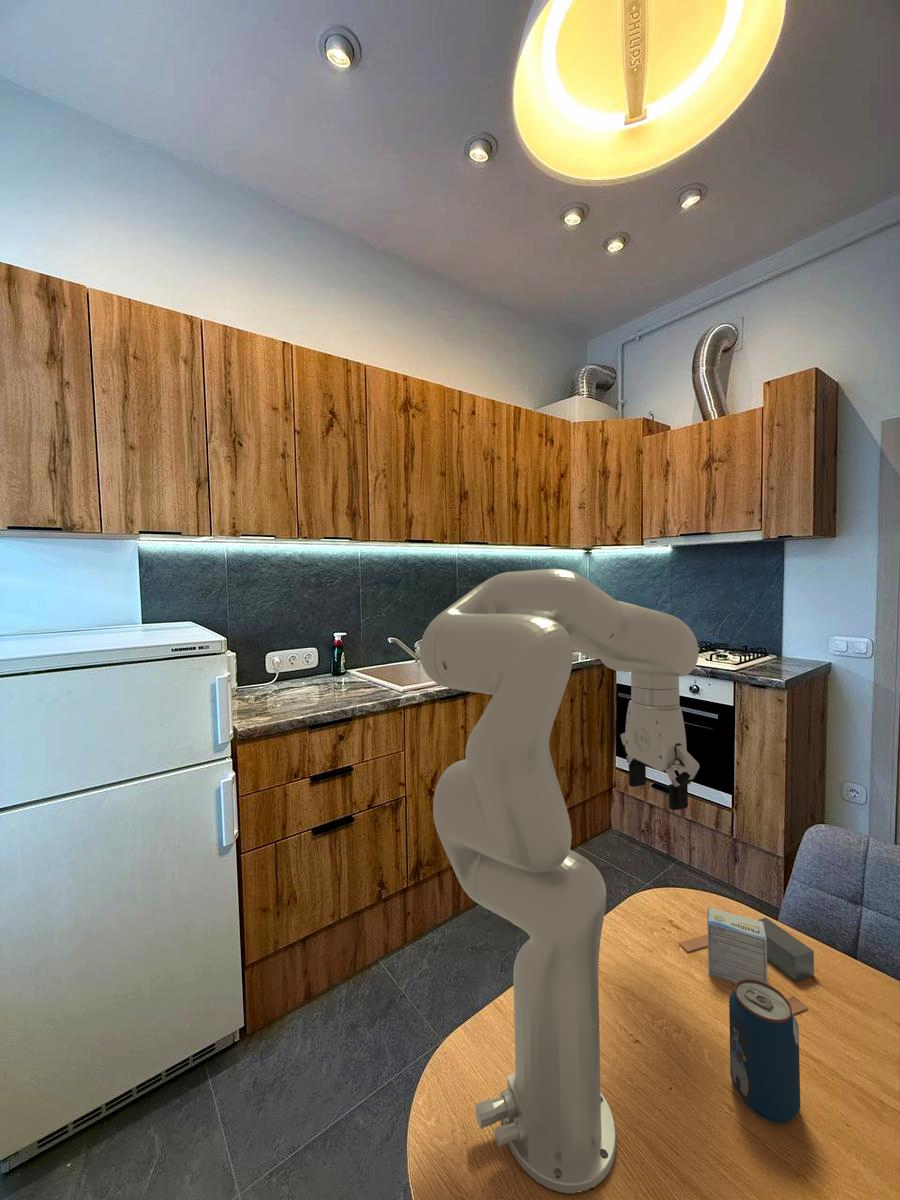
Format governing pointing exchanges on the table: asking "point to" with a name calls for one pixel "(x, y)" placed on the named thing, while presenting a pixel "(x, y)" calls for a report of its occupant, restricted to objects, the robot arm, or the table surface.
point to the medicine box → (736, 947)
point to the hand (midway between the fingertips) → (656, 796)
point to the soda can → (764, 1051)
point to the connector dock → (776, 956)
